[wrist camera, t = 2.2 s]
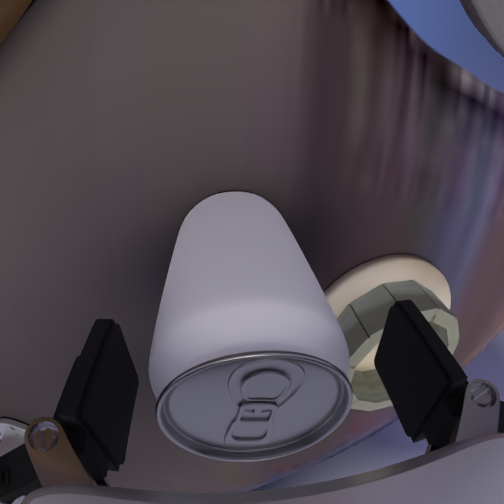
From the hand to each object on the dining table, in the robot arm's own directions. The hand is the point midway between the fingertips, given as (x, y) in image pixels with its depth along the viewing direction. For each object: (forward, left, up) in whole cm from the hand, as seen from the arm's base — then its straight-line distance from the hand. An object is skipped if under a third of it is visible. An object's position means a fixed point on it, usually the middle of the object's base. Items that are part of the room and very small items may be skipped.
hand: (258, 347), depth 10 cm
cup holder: (-8, -11, -9) cm, 16 cm away
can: (0, 0, -9) cm, 9 cm away
